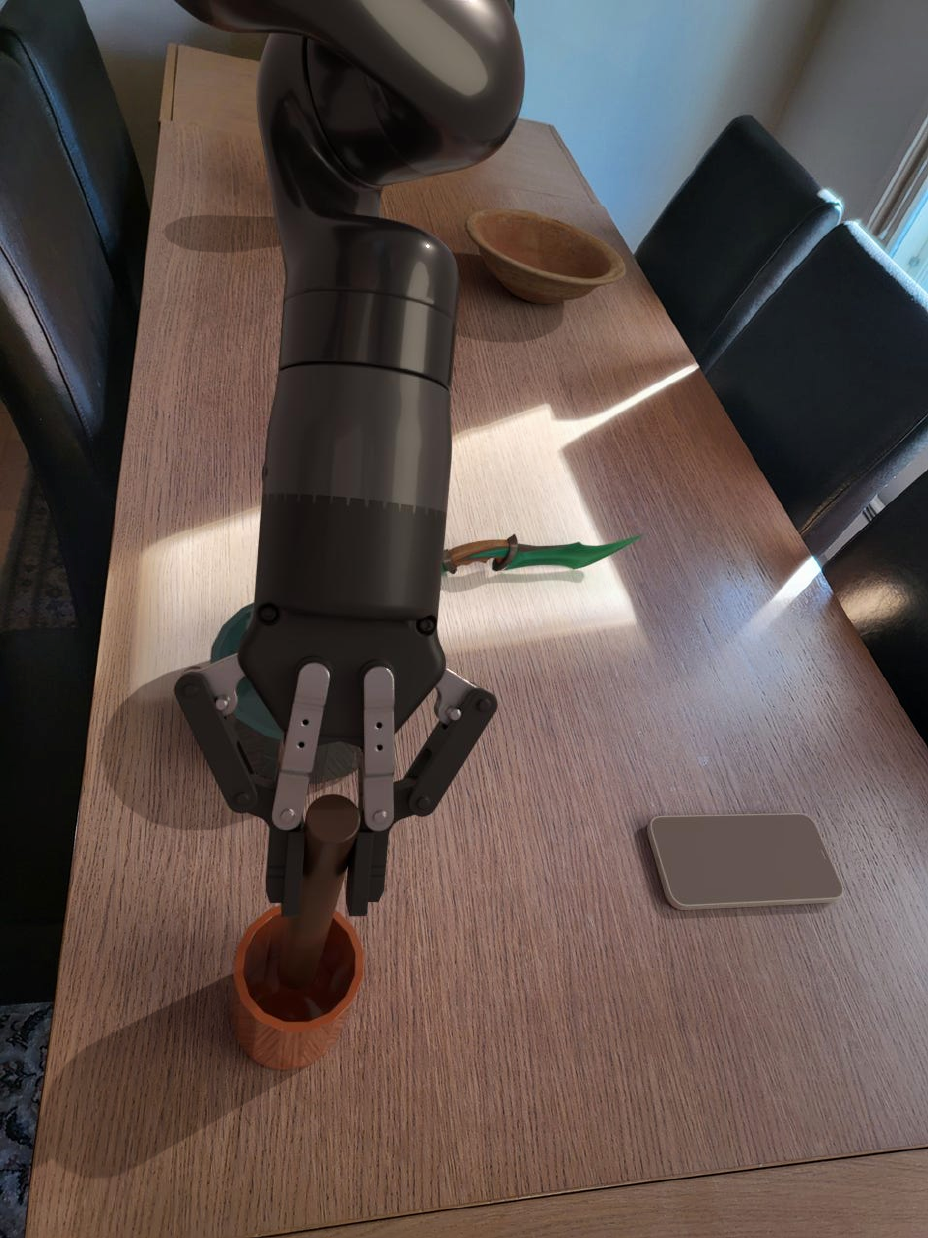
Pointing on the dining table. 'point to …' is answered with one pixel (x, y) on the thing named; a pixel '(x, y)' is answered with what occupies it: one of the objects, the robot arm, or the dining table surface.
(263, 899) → the dining table surface
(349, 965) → the utensil cup
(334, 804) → the stirring stick
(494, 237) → the bowl
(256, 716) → the mixing bowl
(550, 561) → the knife
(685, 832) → the smartphone
